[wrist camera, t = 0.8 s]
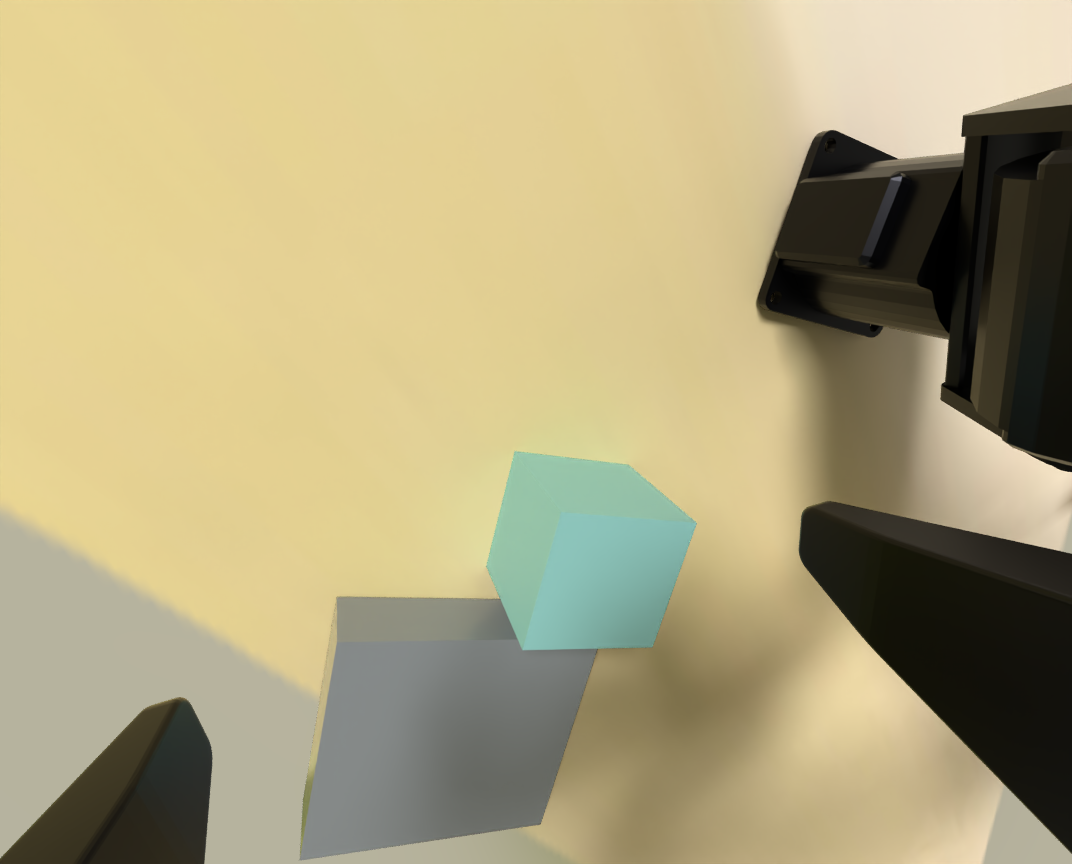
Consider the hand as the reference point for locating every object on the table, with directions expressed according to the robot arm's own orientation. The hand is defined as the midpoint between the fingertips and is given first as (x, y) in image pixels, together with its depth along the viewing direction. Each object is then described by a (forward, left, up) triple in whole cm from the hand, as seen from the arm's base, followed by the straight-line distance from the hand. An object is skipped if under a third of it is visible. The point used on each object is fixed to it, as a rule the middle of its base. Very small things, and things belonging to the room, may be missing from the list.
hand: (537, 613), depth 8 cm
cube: (-6, +5, -13) cm, 15 cm away
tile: (-3, +14, -13) cm, 19 cm away
